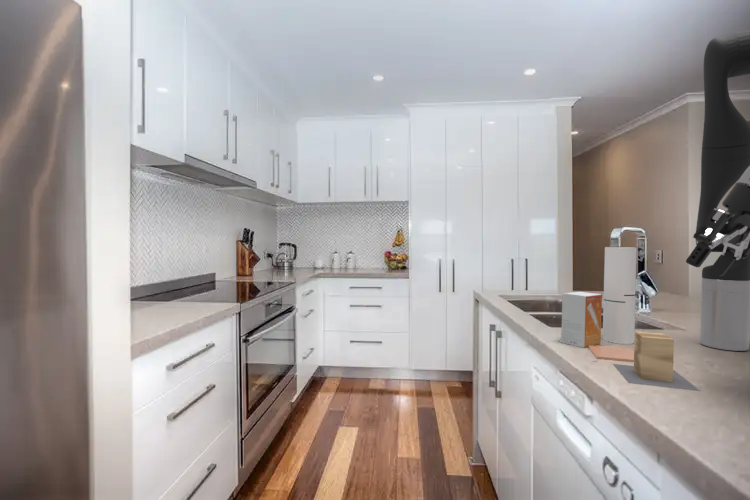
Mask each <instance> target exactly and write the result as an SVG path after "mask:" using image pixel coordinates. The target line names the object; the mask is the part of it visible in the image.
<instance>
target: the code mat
mask: <svg viewBox="0 0 750 500" xmlns="http://www.w3.org/2000/svg"><path fill="white" fill-rule="evenodd" d="M612 365H613V366H614V368H615V369H616V370H617V371H618V372H619V374H620V375H621V376H622V377H623V378H624V379H625V381H626V382H627V383H628V384H632V385H643V386H644V385H645V386H652V387H659V388H669V389H677V390H678V389H679V390H680V389H681V390H686V391H687V390H689V391H696V392H701V389H699V388H698V387H696V386H695V385H694V384H692V383H691V382H690V381H689V380H688V379H687V378H685V377H684V376H682V375H681V374H680V373H679V372H678V371H676V370H674V369H673V382H668V381H659V380H650V379H641V378H640V376H639V375H638V374H637V373H636V372H635V371H634V365H629V364H628V365H627V364H617V363H612Z"/></svg>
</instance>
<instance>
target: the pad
mask: <svg viewBox="0 0 750 500" xmlns="http://www.w3.org/2000/svg"><path fill="white" fill-rule="evenodd" d="M587 348H588V350H589V351H590V352H591V353H592V354H593V357H595V359H597V360H603V361H604V360H606V361H615V362H627V363H634V348H623V347H622V348H621V347H611V346H599V345H593V346H591V345H588V347H587Z"/></svg>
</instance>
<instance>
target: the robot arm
mask: <svg viewBox="0 0 750 500" xmlns="http://www.w3.org/2000/svg"><path fill="white" fill-rule="evenodd" d="M746 75H750V29H745V30H741V31H737V32H732V33H728V34H724V35H719V36H716V37H713V38H711V40H709V42H708V43H707V45H706V47H705V51H704V56H703V91H704V92H703V93H704V94H703V95H704V119H703V120H704V122H703V133H702V143H701V156H700V157H701V159H700V160H701V161H700V162H701V165H700V166H701V168H700V171H701V172H700V196H699V204H698V213H697V219H696V220H697V221H696V227H695V228H696V229H695V233H694V234H693V236H692V238H694V239H695V244H696V246H695V247H694V249H693V250H692V251H691V253H690V254H689V255H688V257H687V258H686V259H685V263H686V264H688V265H689V266H693V267H694V268H701V266H702V265H703V263H704V262H705V261H706V259H707V258H708V257H709V256H710V254H711V253H722V254H720V255H719V256H718V258H717V259H716V261H714V263H713V264H711V265H706V266H705V267H703V268H702V270H701V293H700V294H701V298H700V299H701V300H700V328H699V329H700V331H699V332H700V333H699V334H700V335H699V343H700V344H701V345H703V346H705V347H709V348H713V349H719V350H725V351H735V352H737V351H738V352H739V351H740V352H743V351H749V350H750V349H749V346H750V345H749V344H750V123H749V122H748V120H746V118H745V117H744V116H743V115H742V114H741V113H740V111H739V110H738V108H737V107H735V105H734V104H733V102H732V99H731V97H730V93H729V88H728V85H729V83H728V79H730V78H735V77H741V76H746ZM730 189H731V190H730ZM727 193H728V194H727ZM725 196H726V197H725ZM724 197H725V198H724ZM723 198H724V200H723ZM722 200H723V201H722ZM721 201H722V207H724V208H726V209H727V210H724V209H720V208H718V206H719V204H720V203H721Z"/></svg>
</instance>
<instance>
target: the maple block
mask: <svg viewBox="0 0 750 500" xmlns="http://www.w3.org/2000/svg"><path fill="white" fill-rule="evenodd" d="M633 344H634V346H633V347H634V348H633V349H634V362H633V366H634V371H635V372H636V373H637V374H638V375H639V376H640V378H641V379H650V380H659V381H668V382H673V370H674V355H675V354H674V350H675V349H674V348H675V347H674V346H675V339H674V338H672V337H671V336H668V335H667V334H665V333H661V332H660V333H659V332H644V331H634V343H633Z"/></svg>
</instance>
